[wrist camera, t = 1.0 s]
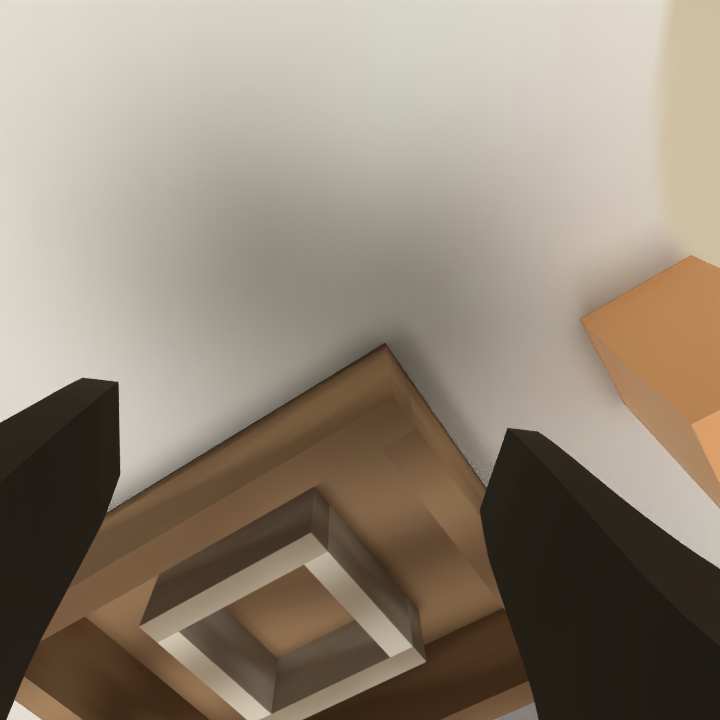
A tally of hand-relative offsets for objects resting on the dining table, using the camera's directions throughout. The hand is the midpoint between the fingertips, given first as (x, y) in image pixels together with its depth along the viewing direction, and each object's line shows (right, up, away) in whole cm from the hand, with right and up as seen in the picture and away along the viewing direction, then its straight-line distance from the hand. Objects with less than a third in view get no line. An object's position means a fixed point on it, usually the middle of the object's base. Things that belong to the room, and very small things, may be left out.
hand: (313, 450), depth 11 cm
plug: (+11, +3, +9) cm, 15 cm away
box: (-2, -8, +13) cm, 16 cm away
